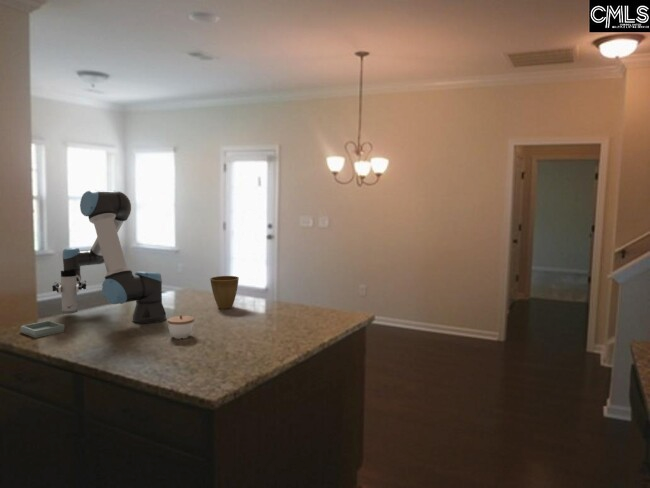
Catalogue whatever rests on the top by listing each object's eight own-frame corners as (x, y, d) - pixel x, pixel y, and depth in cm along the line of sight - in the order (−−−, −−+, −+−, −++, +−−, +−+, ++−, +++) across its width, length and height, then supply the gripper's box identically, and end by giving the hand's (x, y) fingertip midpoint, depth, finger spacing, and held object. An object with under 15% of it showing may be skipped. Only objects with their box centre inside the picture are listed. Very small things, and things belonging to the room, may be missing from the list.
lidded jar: (199, 334, 210) (199, 313, 209) (184, 341, 200) (184, 319, 199) (178, 332, 213) (177, 311, 212) (162, 338, 203) (162, 316, 202)
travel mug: (71, 314, 218) (70, 269, 216) (58, 313, 219) (57, 269, 217) (81, 311, 224) (79, 267, 222) (68, 310, 225) (67, 267, 223)
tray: (64, 331, 212) (64, 325, 211) (35, 337, 202) (34, 331, 202) (49, 326, 219) (49, 320, 219) (20, 332, 209) (20, 325, 209)
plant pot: (229, 303, 272) (229, 274, 270) (244, 307, 261) (244, 278, 259) (205, 306, 262) (205, 277, 260) (219, 312, 251) (219, 281, 249)
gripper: (93, 288, 241) (92, 296, 220) (49, 291, 233) (43, 300, 212) (92, 273, 240) (92, 280, 220) (48, 275, 232) (43, 283, 212)
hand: (68, 290), depth 216 cm, fingers closed on travel mug, 6 cm apart
